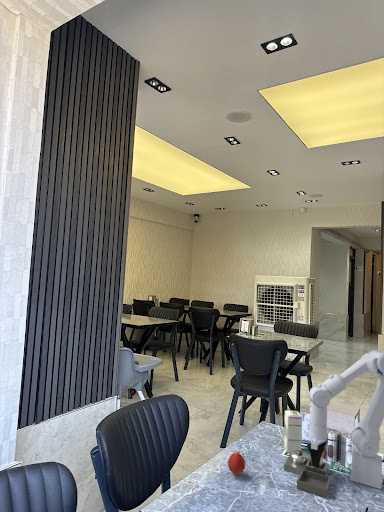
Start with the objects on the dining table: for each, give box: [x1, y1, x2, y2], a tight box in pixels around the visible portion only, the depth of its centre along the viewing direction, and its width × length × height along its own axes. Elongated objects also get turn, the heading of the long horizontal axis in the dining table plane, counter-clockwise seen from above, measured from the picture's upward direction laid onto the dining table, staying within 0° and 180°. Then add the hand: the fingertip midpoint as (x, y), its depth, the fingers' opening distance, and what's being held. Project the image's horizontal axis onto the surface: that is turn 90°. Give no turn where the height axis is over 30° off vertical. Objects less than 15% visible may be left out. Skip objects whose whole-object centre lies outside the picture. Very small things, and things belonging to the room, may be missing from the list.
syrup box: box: [283, 410, 303, 454], centre depth 143 cm, size 6×6×14 cm
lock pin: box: [311, 450, 325, 469], centre depth 125 cm, size 5×5×6 cm
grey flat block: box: [283, 450, 331, 476], centre depth 128 cm, size 14×10×5 cm
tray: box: [296, 469, 332, 499], centre depth 117 cm, size 9×9×2 cm
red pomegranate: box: [227, 450, 246, 476], centre depth 121 cm, size 6×6×8 cm
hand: (316, 463), depth 125 cm, fingers open, 5 cm apart
